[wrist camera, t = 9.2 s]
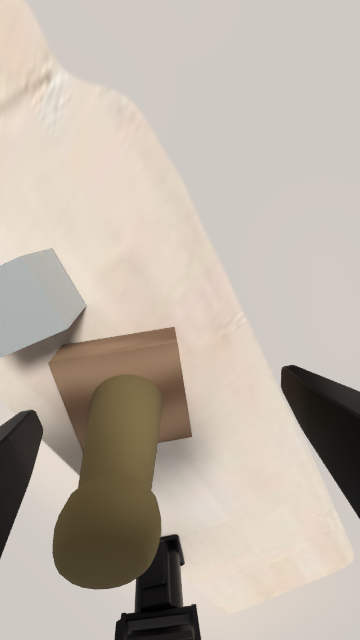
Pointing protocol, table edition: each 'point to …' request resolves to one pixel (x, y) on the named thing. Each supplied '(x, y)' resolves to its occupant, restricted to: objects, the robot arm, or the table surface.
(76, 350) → the walnut block
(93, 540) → the olive game pawn
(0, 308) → the slate cube
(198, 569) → the table surface
